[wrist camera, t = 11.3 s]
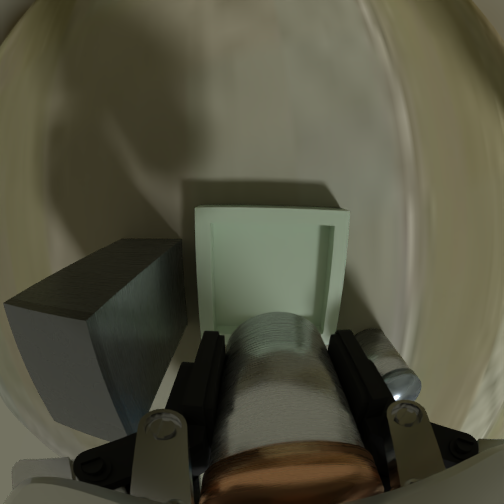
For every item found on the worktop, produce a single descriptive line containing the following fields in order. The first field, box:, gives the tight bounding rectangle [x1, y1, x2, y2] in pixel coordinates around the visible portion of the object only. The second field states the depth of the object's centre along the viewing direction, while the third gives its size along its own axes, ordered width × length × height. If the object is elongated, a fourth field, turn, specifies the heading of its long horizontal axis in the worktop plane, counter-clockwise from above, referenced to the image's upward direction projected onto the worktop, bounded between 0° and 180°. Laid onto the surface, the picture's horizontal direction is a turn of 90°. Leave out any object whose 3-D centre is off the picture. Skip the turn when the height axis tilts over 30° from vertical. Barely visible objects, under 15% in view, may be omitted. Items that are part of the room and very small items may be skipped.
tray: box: [195, 205, 350, 345], centre depth 19 cm, size 10×10×2 cm
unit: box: [3, 239, 187, 442], centre depth 14 cm, size 5×7×13 cm
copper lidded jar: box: [199, 312, 384, 504], centre depth 7 cm, size 4×4×7 cm
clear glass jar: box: [355, 329, 421, 401], centre depth 18 cm, size 4×4×7 cm
